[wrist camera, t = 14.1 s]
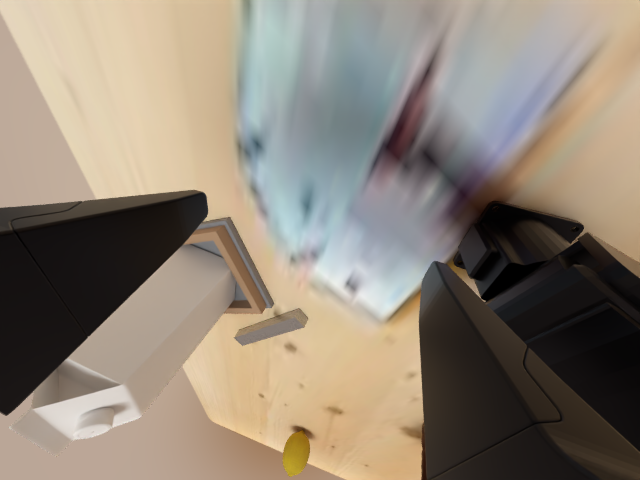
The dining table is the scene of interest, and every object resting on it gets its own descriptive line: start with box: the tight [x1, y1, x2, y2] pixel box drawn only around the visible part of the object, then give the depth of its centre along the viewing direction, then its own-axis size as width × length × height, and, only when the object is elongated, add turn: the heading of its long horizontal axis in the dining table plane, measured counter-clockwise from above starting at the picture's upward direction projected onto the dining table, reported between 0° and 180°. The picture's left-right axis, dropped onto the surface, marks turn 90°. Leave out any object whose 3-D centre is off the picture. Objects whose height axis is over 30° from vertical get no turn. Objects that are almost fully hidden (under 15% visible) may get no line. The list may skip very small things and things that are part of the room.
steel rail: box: [234, 309, 308, 346], centre depth 35 cm, size 14×2×2 cm, turn 128°
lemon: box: [283, 430, 310, 477], centre depth 51 cm, size 6×6×8 cm
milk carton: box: [9, 244, 236, 457], centre depth 24 cm, size 7×7×19 cm
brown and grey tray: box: [180, 217, 274, 314], centre depth 32 cm, size 14×14×2 cm
